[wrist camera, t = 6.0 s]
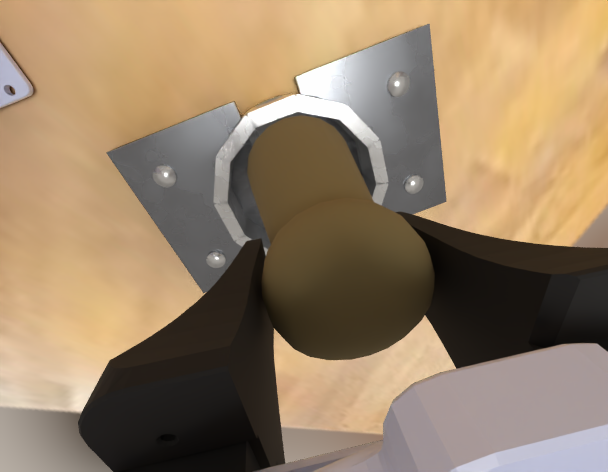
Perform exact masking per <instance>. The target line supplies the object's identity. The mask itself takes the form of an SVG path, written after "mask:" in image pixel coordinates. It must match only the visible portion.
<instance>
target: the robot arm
mask: <svg viewBox="0 0 608 472" xmlns="http://www.w3.org/2000/svg"><path fill="white" fill-rule="evenodd" d="M10 86H12V87H13V88H14V89H15V91H16V92H15V95H14V94H12V93H11V92H10V90H9V87H10ZM32 94H33V87H32V85H31V83H30V82H29V81H28V79H27V78H26V76H25V75H24V74H23V72H22V71H21V70H20V68H19V67H18V66H17V64H16V63H15V62H14V60H13V59H12V57H11V56H10V55H9V53H8V52H7V51H6V49H5V48H4V47H3V45H2V44H1V43H0V108H3V107H5V106H8V105H10V104H12V103H15V102H17V101H20V100H22V99H25V98H27V97H29V96H31V95H32ZM395 213H397V214H399V215H401V216H402V217H403V218H404V219H405V220H406V221H407V222H408V223H409V224H410V226H411V227H412V228H413V229H414V230H415V231H416V232H417V234H418V235H419V236H420V237H421V238H422V239H423V240H424V242H425V244H426V246H427V249H428V251H429V254H430V256H431V260H432V264H433V268H434V272H435V281H434V292H433V297H432V302H431V305H430V307H429V309H428V310H427V312H426V314H425V315H426V317H427V318H428V320H429V321H430V323H431V324H432V326H433V328H434V330H435V331H436V333H437V335H438V336H439V338H440V340H441V341H442V343H443V345H444V347H445V349H446V350H447V352H448V354H449V356H450V358H451V359H452V361H453V363H454V365H455V367H456V369H453V370H449V371H445V372H440V373H438V374H435V375H433V376H430V377H428V378H425V379H423V380H420V381H418V382H415V383H413V384H412V385H410V386H409V387H408V388H407V389H406V390H404V391H403V392H402V393H401V394H400V395H398V396H397V397H396V398H395V399H394V400H393V402H392V404H391V406H390V408H389V411H388V413H387V416H386V418H385V420H384V423H383V440H380V441H376V442H372V443H368V444H364V445H360V446H355V447H351V448H347V449H343V450H339V451H335V452H331V453H327V454H323V455H318V456H315V457H310V458H307V459H302V460H298V461H294V462H290V463H286V464H285V458H284V450H283V441H282V433H281V423H280V414H279V405H278V395H277V385H276V375H275V365H274V348H273V345H274V327H273V326H272V323H271V321H270V319H269V316H268V314H267V310H266V307H265V304H264V300H263V297H262V283H261V281H262V274H263V267H264V261H265V258H266V255H265V251H264V247H263V242H262V238H260V239H254V240H249V241H246V242H245V244H244V245H243V247H242V248H241V250H240V251H239V253H238V254H237V256H236V257H235V259H234V260H233V262H232V263H231V264H230V266H229V267H228V269H227V270H226V271H225V272H224V274H223V275H222V276H221V277H220V278H219V280H218V281H217V282H216V283H215V284H214V285H213V286H212V288H211V289H210V290H209V291H208V292H207V293H206V294H205V295H204V296H202V297H201V298H200V299H199V300H198V301H197V302H196V303H195V304H194V305H192V306H191V307H190V308H189V309H188V310H186V311H185V312H184V313H183V314H181V315H180V316H179V317H178V318H176V319H175V320H174V321H172V322H171V323H170V324H168V325H167V326H166V327H164V328H163V329H161V330H160V331H158V332H157V333H155V334H154V335H152V336H151V337H149V338H147V339H146V340H144V341H143V342H141V343H139V344H137V345H136V346H134V347H132V348H131V349H129V350H127V351H126V352H124V353H122V354H120V355H119V356H117V357H115V358H113V359H111V360H110V361H109V363H108V365H107V366H106V368H105V370H104V372H103V374H102V376H101V377H100V379H99V381H98V383H97V385H96V387H95V389H94V390H93V392H92V394H91V396H90V398H89V400H88V402H87V404H86V405H85V407H84V409H83V411H82V413H81V416H80V419H79V421H78V425H79V433H80V435H81V436H82V438H83V439H84V441H85V442H86V444H87V445H88V446H89V447H90V448H91V449H92V450H93V451H94V452H95V453H96V454H97V455H98V456H99V458H101V459H102V460H103V462H104V463H105V464H106V465H107V466H108V467H110V469H111V470H112V471H113V472H608V248H583V247H582V248H581V247H567V246H553V245H542V244H533V243H526V242H518V241H511V240H505V239H499V238H494V237H489V236H484V235H480V234H475V233H471V232H468V231H464V230H460V229H456V228H453V227H450V226H446V225H443V224H440V223H437V222H434V221H431V220H428V219H425V218H422V217H419V216H415V215H412V214H409V213H405V212H395Z"/></svg>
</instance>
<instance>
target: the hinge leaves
mask: <svg viewBox="0 0 608 472" xmlns="http://www.w3.org/2000/svg"><path fill="white" fill-rule="evenodd" d="M294 78H295V81H296V85H297V88H298V91H299V94H293V93H292V94H290V93H289V94H287V95H281V96H277V97H274V98H271V99H268V100H266V101H263V102H261V103H259V104H257V105H256V106H255V107H253V108H252V109H249V110H248V112H246V113H245V114H244V115H243V116H242V117H241V115H240V113H239V110H238V108H237V106H236V103H235V101H234V102H231V103H229V104H226V105H224V106H221V107H219V108H216V109H214V110H211V111H209V112H206V113H204V114H201V115H199V116H196V117H194V118H191V119H189V120H186V121H184V122H181V123H179V124H176V125H174V126H171V127H169V128H166V129H164V130H161V131H159V132H156V133H154V134H151V135H149V136H146V137H144V138H141V139H139V140H136V141H134V142H131V143H129V144H126V145H124V146H121V147H119V148H116V149H114V150H111V151H109V152H107V154H108V156H109V157H110V159H111V160H112V162H113V163H114V165H115V166H116V167H117V169H118V170H119V172H120V173H121V175H122V176H123V177H124V179H125V180H126V182H127V183H128V185H129V186H130V188H131V189H132V190H133V192H134V193H135V195H136V196H137V198H138V199H139V201H140V202H141V203H142V205H143V206H144V208H145V209H146V211H147V212H148V214H149V215H150V216H151V218H152V219H153V221H154V222H155V224H156V225H157V227H158V228H159V229H160V231H161V232H162V234H163V235H164V237H165V238H166V239H167V241H168V242H169V244H170V245H171V247H172V248H173V250H174V251H175V252H176V254H177V255H178V257H179V258H180V260H181V261H182V263H183V264H184V265H185V267H186V268H187V270H188V271H189V273H190V274H191V276H192V277H193V278H194V280H195V281H196V283H197V284H198V286H199V287H200V289H201V290H202V291H203V293H205V292H208V291H209V290H210V289H211V288H212V286H213V285H214V284H215V283H216V282H217V281H218V280H219V278H220V277H221V276H222V275H223V274H224V272H225V271H226V270H227V269H228V267H229V266H230V264H231V263H232V262H233V260H234V259H235V257H236V256H237V254H238V253H239V251H240V250H241V248H242V247H243V245H244V244H245V242H246V241H249V240H254V239H260V238H262V242H263V247H264V251H265V255H267V251H268V249H269V247H270V245H271V244H270V241H269V238H268V235H267V232H266V229H265V227H264V224H263V221H262V218H261V215H260V212H259V209H258V207H257V204H256V201H255V198H254V195H253V192H252V190H251V186H250V182H249V178H248V175H247V167H248V156H249V154H250V152H251V149H252V147H253V145H254V143H255V140H256V139H257V138H258V137H259V136H260V135H261V134H262V133H263V132H264V131H265V129H266V128H267V127H269V126H271V125H273V124H274V123H276V122H278V121H280V120H282V119H283V118H289V117H295V116H301V115H303V116H309V117H315V118H320V119H321V120H323V121H325V122H327V123H328V124H330V125H332V126H334V127H335V129H336V130H337V131H338V132H339V133H340V134H341V136H342V137H343V138H344V139H345V141H346V143H347V145H348V148H349V150H350V152H351V154H352V156H353V158H354V160H355V163H356V165H357V167H358V169H359V171H360V173H361V175H362V177H363V180H364V182H365V184H366V186H367V188H368V190H369V192H370V194H371V197H372V199H373V201H374V202H375V203H377V204H379V205H381V206H383V207H385V208H388V209H390V210H392V211H394V212H405V213H409V214H415V213H418V212H420V211H423V210H426V209H428V208H431V207H434V206H436V205H439V204H441V203H444V202H446V192H445V181H444V171H443V160H442V150H441V139H440V129H439V119H438V108H437V98H436V87H435V77H434V66H433V56H432V45H431V35H430V24H427V25H424V26H421V27H419V28H416V29H414V30H411V31H409V32H406V33H404V34H401V35H399V36H396V37H394V38H391V39H389V40H386V41H384V42H381V43H379V44H376V45H374V46H371V47H369V48H366V49H364V50H361V51H359V52H356V53H354V54H351V55H349V56H346V57H344V58H341V59H339V60H336V61H334V62H331V63H329V64H326V65H324V66H321V67H319V68H316V69H314V70H311V71H309V72H306V73H304V74H301V75H299V76H296V77H294Z"/></svg>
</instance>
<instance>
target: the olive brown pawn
mask: <svg viewBox="0 0 608 472" xmlns="http://www.w3.org/2000/svg"><path fill="white" fill-rule="evenodd" d="M247 175H248V178H249V182H250V186H251V190H252V192H253V195H254V198H255V201H256V204H257V207H258V209H259V212H260V215H261V218H262V221H263V224H264V227H265V229H266V232H267V235H268V238H269V241H270V244H271V245H270V247H269V249H268V251H267V255H266V258H265V261H264V267H263V274H262V281H261V283H262V297H263V300H264V304H265V307H266V310H267V314H268V316H269V319H270V321H271V323H272V326H273V327H274V328H275V330H276V331H277V332H278V333H279V334H280V335H281V336H282V337H283V338H284V339H285V340H286V341H287V342H288V343H289V344H290V345H291V346H292V347H293V348H294V349H295V350H297V351H299V352H301V353H303V354H305V355H307V356H309V357H314V358H320V359H326V360H348V359H356V358H360V357H364V356H369V355H372V354H374V353H377V352H379V351H381V350H384V349H386V348H388V347H390V346H391V345H393V344H395V343H396V342H398V341H399V340H401V339H402V338H404V337H405V336H406V335H407V334H408V333H409V332H410V331H411V330H412V329H413V328H414V327H415V326H416V325H417V324H418V323H419V322H420V321H421V320H422V319H423V317H424V315H425V314H426V312H427V310H428V309H429V307H430V305H431V302H432V297H433V292H434V281H435V272H434V268H433V264H432V260H431V256H430V254H429V251H428V249H427V246H426V244H425V242H424V240H423V239H422V238H421V237H420V236H419V235H418V234H417V232H416V231H415V230H414V229H413V228H412V227H411V226H410V224H409V223H408V222H407V221H406V220H405V219H404V218H403V217H402V216H401V215H399V214H397V213H395V212H394V211H392V210H390V209H388V208H385V207H383V206H381V205H379V204H377V203H375V202H374V201H373V199H372V197H371V194H370V192H369V190H368V188H367V186H366V184H365V182H364V180H363V177H362V175H361V173H360V171H359V169H358V167H357V165H356V163H355V160H354V158H353V156H352V154H351V152H350V150H349V148H348V145H347V143H346V141H345V139H344V138H343V137H342V136H341V134H340V133H339V132H338V131H337V130H336V129H335V127H334V126H332V125H330V124H328V123H327V122H325V121H323V120H321V119H320V118H315V117H309V116H303V115H301V116H295V117H289V118H283V119H282V120H280V121H278V122H276V123H274V124H273V125H271V126H269V127H267V128H266V129H265V131H264V132H263V133H262V134H261V135H260V136H259V137H258V138H257V139H256V140H255V143H254V145H253V147H252V149H251V152H250V154H249V156H248V167H247Z"/></svg>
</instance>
